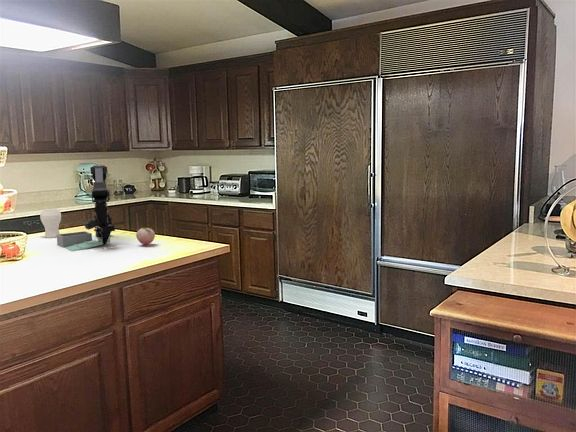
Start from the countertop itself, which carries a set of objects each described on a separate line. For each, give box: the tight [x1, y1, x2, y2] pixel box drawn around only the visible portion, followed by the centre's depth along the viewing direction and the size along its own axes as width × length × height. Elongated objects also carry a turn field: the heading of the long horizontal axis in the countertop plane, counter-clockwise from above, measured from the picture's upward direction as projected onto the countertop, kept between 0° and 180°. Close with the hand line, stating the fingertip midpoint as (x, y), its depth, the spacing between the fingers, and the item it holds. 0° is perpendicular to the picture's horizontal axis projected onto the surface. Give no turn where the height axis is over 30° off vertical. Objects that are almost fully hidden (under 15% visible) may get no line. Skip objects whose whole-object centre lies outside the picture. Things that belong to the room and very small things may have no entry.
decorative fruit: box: [135, 227, 156, 246], centre depth 241 cm, size 9×8×10 cm
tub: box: [56, 230, 93, 249], centre depth 243 cm, size 14×10×6 cm
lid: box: [64, 236, 111, 252], centre depth 236 cm, size 20×11×3 cm, turn 130°
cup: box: [39, 208, 62, 239], centre depth 269 cm, size 11×11×15 cm
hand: (103, 243), depth 240 cm, fingers closed on lid, 3 cm apart
